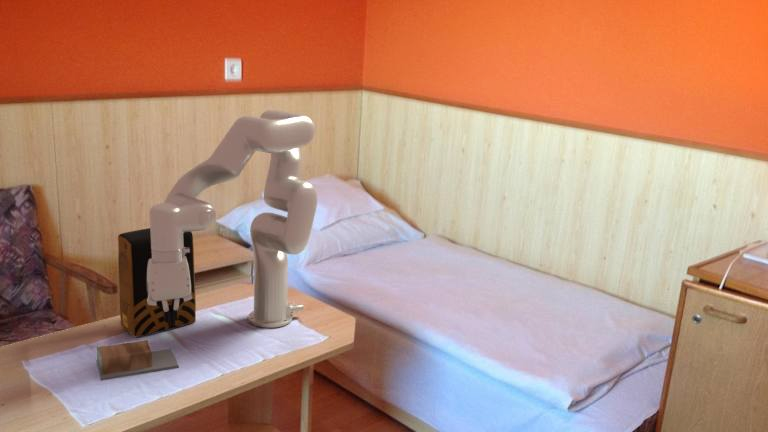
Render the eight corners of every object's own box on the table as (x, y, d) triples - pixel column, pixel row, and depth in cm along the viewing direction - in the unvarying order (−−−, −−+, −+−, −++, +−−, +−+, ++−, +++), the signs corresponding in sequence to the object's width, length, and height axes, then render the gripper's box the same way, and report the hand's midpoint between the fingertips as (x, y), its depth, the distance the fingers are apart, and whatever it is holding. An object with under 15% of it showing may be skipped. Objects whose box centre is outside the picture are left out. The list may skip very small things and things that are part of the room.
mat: (170, 350, 188) (170, 348, 188) (178, 367, 180) (178, 365, 180) (96, 361, 180) (96, 359, 180) (101, 380, 172) (101, 378, 172)
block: (147, 339, 183) (96, 347, 178) (151, 351, 177) (99, 359, 172) (148, 354, 184) (97, 361, 179) (152, 366, 178) (100, 374, 173)
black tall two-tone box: (199, 323, 205) (198, 228, 198) (132, 340, 193) (128, 239, 185) (183, 310, 213) (180, 219, 205) (117, 326, 201) (112, 229, 193)
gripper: (195, 246, 183) (197, 313, 188) (133, 252, 176) (137, 322, 181) (202, 255, 176) (204, 325, 181) (137, 262, 170) (141, 334, 175)
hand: (170, 323), depth 181 cm, fingers closed
